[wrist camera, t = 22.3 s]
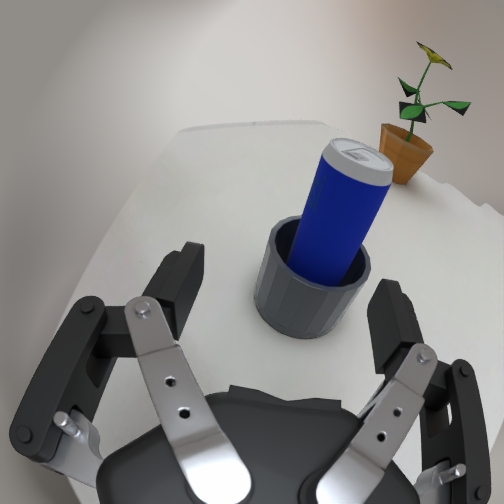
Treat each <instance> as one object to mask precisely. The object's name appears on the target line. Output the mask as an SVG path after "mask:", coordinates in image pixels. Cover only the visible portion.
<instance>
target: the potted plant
mask: <svg viewBox="0 0 504 504" xmlns="http://www.w3.org/2000/svg"><path fill="white" fill-rule="evenodd" d="M417 43H418V42H417ZM418 45H419V46H420V47H421V48H422V49H423V50H424V51H426V52H427V55H428V57H429V60H430V63H429V65H428V67H427V69H426V71H425V73H424V75H423V77H422V79H421V81H420V84H419V86H418V88H417V89H415V88H413V87H410V86H409V85H407V84H406V83H405V82H404V81H402V80H401V79H400V78H399V77H398V79H399V81H400V83H401V85H402V88H403V90H404V92H405V94H406V96H407V97H409V96H411V95H413V94H416V97H415V103H414V104H411V103H405V102H399V107H400V108H399V109H400V119H406V120H412V123H411V128H410V132H409V131H407V130H405V129H402V128H400V127H397V126H394V125H391V124H382V125H381V139H380V148H379V152H380V153H382V154H383V155H385V156H386V157H387V158H388V159H389V160H390V161H391V162H392V164H393V166H394V167H393V176H392V181H393V182H395V183H398V184H406V183H407V182H408V181H409V180H410V179H411V177H412V176H413V175H414V174H415V173H416V172H417V171H418V169H419V168H420V167H421V166H422V165H423V164H424V162H425V161H426V160H427V159H428V158H429V157H430V155H431V154H432V153H433V152H434V151H433V149H432V147H431V146H430V145H429V144H428V143H426V142H425V141H424V140H422V139H421V138H419V137H418V136H416V135H414V134H413V126H414V121H417V122H423V123H426V116H425V112H426V110H425V108H426V107H429V106H432V105H436V104H439V103H443V104H445V105H447V106H448V107H450V108H452V109H453V110H455V111H456V112H458V113H459V114H461V115H462V116H463V115H464V114H465V112H466V110H467V109H468V107H469V105H470V103H471V102H456V101H448V102H439V103H434V104H429V105H425V106H423V105H422V104H421V101H420V94H419V92H420V91H419V88H420V86H421V84H422V81H423V79H424V77H425V74H426V72H427V70H428V68H429V66H430V64H431V62H432V63H442V64H444V65H445V66H447V67H448V68H450V69H451V70H452V68H451V65H450V64H448V63H447V62H446V61H445V60H444V59H442V58H441V57H440V56H439V55H438V54H436V53H435V52H434V51H433V50H431V49H429V48H428V47H426V46H424V45H422V44H420V43H418ZM418 94H419V100H418ZM417 100H418V102H419V103H417ZM426 114H427V115H428V113H427V112H426ZM428 116H429V115H428Z"/></svg>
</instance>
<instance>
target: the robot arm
mask: <svg viewBox="0 0 504 504" xmlns="http://www.w3.org/2000/svg"><path fill="white" fill-rule="evenodd" d="M203 275H204V244H199V243H193V242H188V241H187V242H186V244H185V245H184V247H183V249H182V251H181V252H179V251H172V252H171V253H169V254H168V255H167V256H165V258H164V259H163V261H162V262H161V264H160V266H159V267H158V269H157V271H156V273H155V274H154V275H153V277H152V279H151V280H150V282H149V284H148V285H147V287H146V289H145V291H144V292H143V294H142V296H140V297H136V298H134V299H132V300H130V301H129V302H128V303H127V305H126V306H105V305H104V302H103V301H102V300H101V299H100V298H98V297H96V296H86V297H83V298H81V299H79V300H78V301H77V302H76V303H75V304H74V305H73V307H72V308H71V310H70V312H69V313H68V315H67V316H66V318H65V320H64V321H63V323H62V325H61V326H60V328H59V330H58V331H57V333H56V335H55V337H54V338H53V340H52V342H51V344H50V345H49V347H48V349H47V351H46V353H45V354H44V356H43V358H42V360H41V362H40V364H39V366H38V368H37V370H36V372H35V374H34V375H33V377H32V380H31V382H30V384H29V386H28V388H27V390H26V392H25V394H24V396H23V399H22V401H21V403H20V405H19V407H18V410H17V412H16V414H15V417H14V419H13V421H12V424H11V426H10V431H9V438H10V441H11V444H12V446H13V447H14V449H15V450H16V451H17V452H18V453H20V454H21V455H23V456H25V457H27V458H29V459H30V460H31V461H32V462H34V463H36V464H38V465H40V466H42V467H44V468H46V469H48V470H51V471H54V472H56V473H59V474H61V475H67V476H69V477H71V478H73V479H75V480H77V481H79V482H81V483H84V484H86V485H88V486H91V487H93V488H95V489H97V493H98V497H99V501H100V504H487V503H488V501H489V498H490V495H491V471H490V458H489V448H488V440H487V432H486V426H485V419H484V414H483V408H482V403H481V398H480V394H479V389H478V385H477V381H476V377H475V373H474V370H473V368H472V366H471V365H470V364H469V363H468V362H467V361H465V360H463V359H457V360H455V361H454V362H453V363H452V364H451V365H449V364H446V363H444V362H441V361H439V360H437V356H436V353H435V352H434V350H433V349H432V348H431V347H429V346H428V345H426V344H424V341H423V337H422V334H421V331H420V327H419V324H418V321H417V320H416V319H417V317H416V314H415V313H414V308H413V305H412V302H411V301H410V299H409V298H408V297H407V295H406V294H404V293H402V291H401V288H400V285H399V282H398V281H393V280H388V279H382V280H381V281H380V282H379V284H378V286H377V288H376V290H375V292H374V294H373V296H372V298H371V300H370V302H369V304H368V309H367V317H368V323H369V329H370V336H371V342H372V349H373V357H374V364H375V372H376V374H385V379H384V380H383V382H382V383H381V384H380V386H379V387H378V389H377V390H376V392H375V393H374V394H373V396H372V397H371V399H370V400H369V401H368V403H367V404H366V405H365V407H364V408H363V409H362V410H361V412H360V413H359V414H358V415H357V416H356V415H354V414H353V413H351V412H350V411H347V410H345V409H343V408H341V400H333V399H322V398H310V399H302V400H293V401H285V400H282V399H280V398H277V397H274V396H272V395H269V394H267V393H264V392H262V391H260V390H256V389H250V388H244V387H239V386H234V385H230V387H229V392H218V393H213V394H209V395H206V396H204V395H203V393H202V391H201V389H200V387H199V385H198V383H197V381H196V379H195V377H194V375H193V373H192V371H191V369H190V367H189V364H188V362H187V360H186V358H185V356H184V354H183V351H182V349H181V347H180V346H179V345H177V344H176V343H175V340H177V341H179V338H180V336H181V333H182V331H183V328H184V326H185V323H186V321H187V318H188V316H189V313H190V311H191V308H192V306H193V303H194V301H195V299H196V296H197V294H198V291H199V289H200V286H201V284H202V280H203ZM118 357H128V358H137V359H138V362H139V365H140V368H141V371H142V374H143V377H144V380H145V383H146V386H147V389H148V391H149V394H150V397H151V399H152V402H153V405H154V407H155V410H156V412H157V415H158V417H159V420H160V422H161V424H160V425H158V426H156V427H155V428H153V429H152V430H150V431H148V432H147V433H145V434H144V435H142V436H140V437H139V438H137V439H135V440H134V441H132V442H130V443H129V444H127V445H125V446H124V447H122V448H120V449H118V450H117V451H115V452H113V453H112V454H110V455H109V456H108V457H106V458H105V459H104V460H103V458H102V457H101V454H100V451H99V443H100V436H99V432H98V430H97V429H96V427H95V426H94V425H93V424H92V421H93V419H94V416H95V413H96V410H97V408H98V405H99V402H100V400H101V397H102V395H103V392H104V389H105V387H106V384H107V382H108V379H109V377H110V374H111V372H112V370H113V367H114V365H115V362H116V360H117V358H118ZM449 403H450V406H451V413H452V421H451V424H450V425H449V417H448V409H447V405H448V404H449ZM418 414H419V416H420V430H421V451H422V473H421V474H420V475H419V476H418V478H417V481H416V483H415V484H414V485H412V484H411V483H410V481H409V480H408V479H407V478H406V476H405V475H404V474H403V473H402V471H401V470H400V469H399V467H398V466H397V465H396V464H395V462H394V461H393V460H392V458H393V456H394V455H395V453H396V452H397V450H398V449H399V447H400V445H401V444H402V442H403V440H404V439H405V437H406V435H407V434H408V432H409V430H410V428H411V427H412V425H413V423H414V421H415V419H416V417H417V416H418Z"/></svg>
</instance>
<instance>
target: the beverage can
mask: <svg viewBox="0 0 504 504" xmlns="http://www.w3.org/2000/svg"><path fill="white" fill-rule="evenodd" d="M393 167H394V166H393V164H392V162H391V161H390V160H389V159H388V158H387V157H386V156H385V155H383V154H382V153H380V152H379V151H377V150H375V149H374V148H372V147H370V146H368V145H366V144H363V143H360V142H358V141H355V140H351V139H347V138H333V139H332V140H331V141H330V142H329V144H328V145H327V146H326V148H325V149H324V150H323V152H322V155H321V159H320V162H319V165H318V168H317V171H316V174H315V177H314V180H313V184H312V187H311V190H310V193H309V196H308V199H307V202H306V205H305V208H304V211H303V214H302V217H301V220H300V223H299V226H298V229H297V232H296V234H295V237H294V240H293V243H292V246H291V249H290V252H289V255H288V258H287V260H286V263H285V264H286V265H287V266H288V267H289V268H290V269H291V270H292V271H294V272H295V273H296V274H297V275H299V276H301V277H303V278H305V279H307V280H308V281H310V282H313V283H316V284H320V285H324V286H327V287H338V286H339V284H340V282H341V280H342V279H343V277H344V275H345V273H346V272H347V270H348V268H349V266H350V264H351V263H352V261H353V259H354V257H355V255H356V253H357V251H358V250H359V248H360V246H361V244H362V242H363V240H364V238H365V236H366V234H367V232H368V230H369V228H370V226H371V224H372V222H373V220H374V218H375V216H376V214H377V212H378V210H379V208H380V206H381V204H382V202H383V200H384V198H385V196H386V194H387V191H388V189H389V187H390V185H391V183H392V176H393Z"/></svg>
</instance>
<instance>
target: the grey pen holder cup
mask: <svg viewBox="0 0 504 504" xmlns="http://www.w3.org/2000/svg"><path fill="white" fill-rule="evenodd" d="M301 217H302V215H300V216H292V217H288V218H286V219H283V220H281V221H279V222H278V223H277V224H276V225H275V226H274V227H273V228H272V230H271V233H270V236H269V240H268V243H267V247H266V251H265V254H264V258H263V262H262V265H261V269H260V272H259V276H258V280H257V283H256V287H255V294H254V297H255V303H256V307H257V309H258V311H259V313H260V314H261V316H262V317H263V319H264V320H265V321H266V322H267V323H268V324H269V325H270V326H272V327H273V328H274V329H276V330H277V331H279V332H281V333H283V334H285V335H288V336H291V337H295V338H300V339H312V338H317V337H320V336H323V335H325V334H327V333H328V332H330V331H331V330H332V329H333V328H334V327H335V326H336V324H337V323H338V322H339V321H340V320H341V318H342V317H343V315H344V314H345V312H346V311H347V310H348V308H349V307H350V305H351V304H352V302H353V301H354V299H355V298H356V296H357V295H358V293H359V292H360V290H361V289H362V287H363V286H364V284H365V282H366V281H367V279H368V277H369V274H370V271H371V264H370V257H369V255H368V253H367V251H366V249H365V247H364V246H363V244H361V246H360V248H359V250H358V251H357V253H356V255H355V257H354V259H353V261H352V263H351V264H350V266H349V268H348V270H347V272H346V273H345V275H344V277H343V279H342V280H341V282H340V284H339V286H338V287H327V286H324V285H320V284H316V283H313V282H310V281H308V280H307V279H305V278H303V277H301V276H299V275H297V274H296V273H295V272H294V271H292V270H291V269H290V268H289V267H288V266H287V265H286V264H285V263H286V260H287V258H288V255H289V252H290V249H291V246H292V243H293V240H294V237H295V234H296V232H297V229H298V226H299V223H300V220H301Z"/></svg>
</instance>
